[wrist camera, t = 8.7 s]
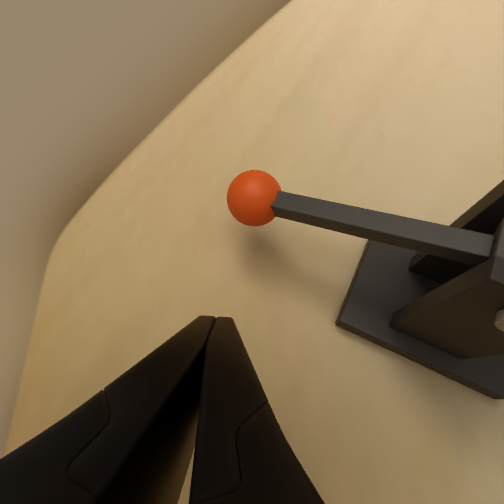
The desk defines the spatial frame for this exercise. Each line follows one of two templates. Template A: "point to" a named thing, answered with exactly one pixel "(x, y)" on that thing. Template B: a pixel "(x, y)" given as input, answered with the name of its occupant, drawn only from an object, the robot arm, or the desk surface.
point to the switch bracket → (436, 305)
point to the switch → (357, 221)
